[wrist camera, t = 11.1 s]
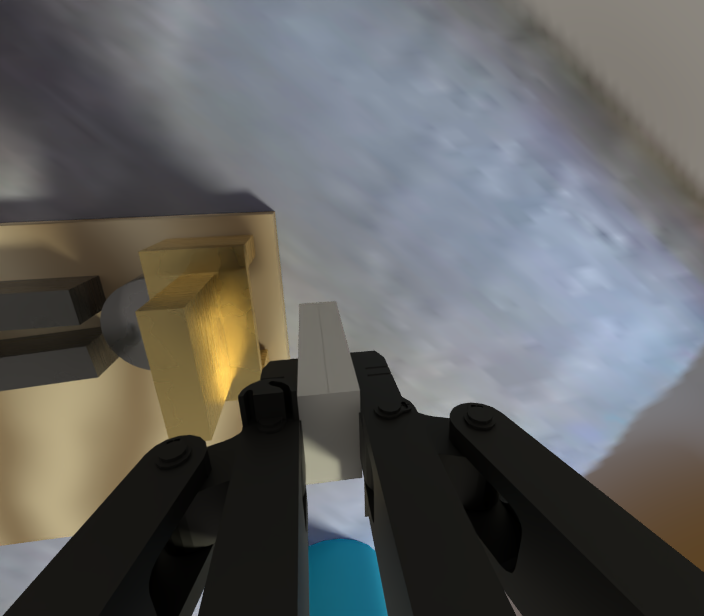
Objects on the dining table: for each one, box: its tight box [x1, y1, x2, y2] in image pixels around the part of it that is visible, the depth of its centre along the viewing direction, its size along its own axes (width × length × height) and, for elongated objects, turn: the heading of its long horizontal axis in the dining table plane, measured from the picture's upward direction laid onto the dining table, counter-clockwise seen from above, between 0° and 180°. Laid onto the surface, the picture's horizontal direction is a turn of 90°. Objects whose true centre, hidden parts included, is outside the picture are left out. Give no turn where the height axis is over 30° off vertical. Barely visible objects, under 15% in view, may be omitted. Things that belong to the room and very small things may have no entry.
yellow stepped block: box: [135, 235, 269, 441], centre depth 15 cm, size 4×7×7 cm, turn 2°
